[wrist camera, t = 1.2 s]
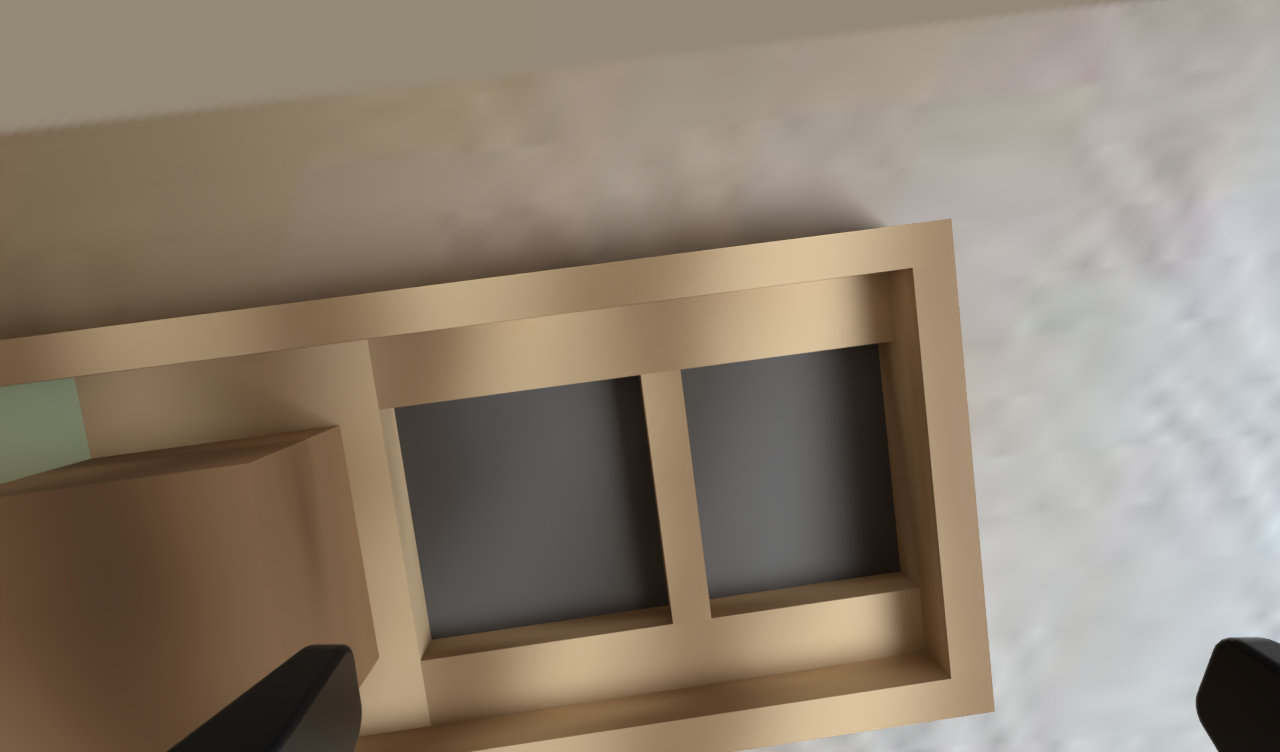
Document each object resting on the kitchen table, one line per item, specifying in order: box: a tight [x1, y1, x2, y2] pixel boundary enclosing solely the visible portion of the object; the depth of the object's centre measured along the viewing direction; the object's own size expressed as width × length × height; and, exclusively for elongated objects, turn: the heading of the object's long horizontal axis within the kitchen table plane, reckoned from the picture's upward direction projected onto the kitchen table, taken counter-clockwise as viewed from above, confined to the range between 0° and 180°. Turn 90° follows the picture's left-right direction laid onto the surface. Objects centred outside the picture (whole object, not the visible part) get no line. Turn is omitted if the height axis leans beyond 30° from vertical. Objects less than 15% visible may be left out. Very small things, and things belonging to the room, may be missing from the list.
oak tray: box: [0, 219, 995, 752], centre depth 18 cm, size 30×12×3 cm, turn 97°
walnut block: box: [0, 425, 379, 752], centre depth 16 cm, size 6×6×4 cm
